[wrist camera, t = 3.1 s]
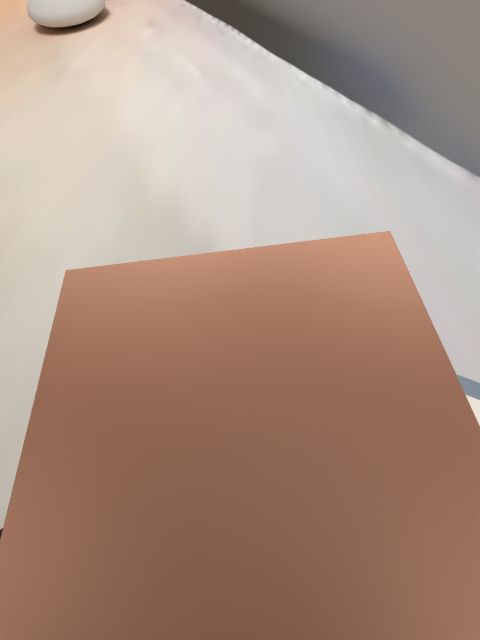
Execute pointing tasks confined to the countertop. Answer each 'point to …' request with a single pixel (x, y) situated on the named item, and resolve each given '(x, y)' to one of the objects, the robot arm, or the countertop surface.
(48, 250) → the countertop surface
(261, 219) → the countertop surface
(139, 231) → the countertop surface
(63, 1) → the flower in vase
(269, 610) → the terracotta block
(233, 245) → the countertop surface
